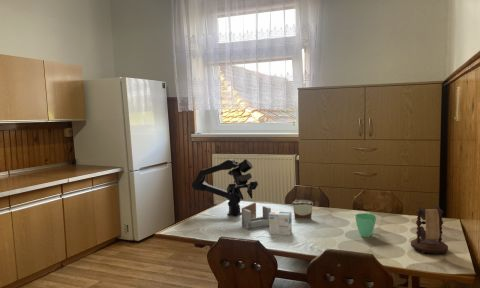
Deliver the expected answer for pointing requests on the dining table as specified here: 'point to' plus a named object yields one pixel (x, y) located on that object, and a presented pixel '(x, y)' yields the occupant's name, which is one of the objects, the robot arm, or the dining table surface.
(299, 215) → the food container
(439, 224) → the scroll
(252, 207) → the cover
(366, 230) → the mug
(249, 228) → the grey u-channel
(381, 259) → the dining table surface
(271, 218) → the light bulb box
